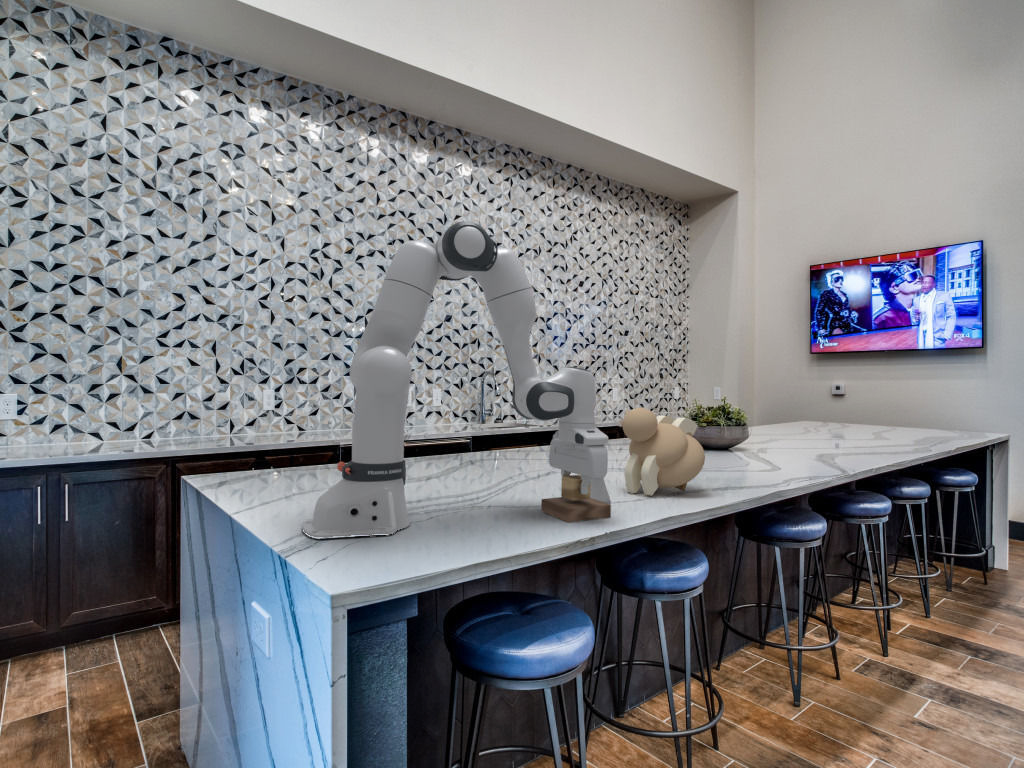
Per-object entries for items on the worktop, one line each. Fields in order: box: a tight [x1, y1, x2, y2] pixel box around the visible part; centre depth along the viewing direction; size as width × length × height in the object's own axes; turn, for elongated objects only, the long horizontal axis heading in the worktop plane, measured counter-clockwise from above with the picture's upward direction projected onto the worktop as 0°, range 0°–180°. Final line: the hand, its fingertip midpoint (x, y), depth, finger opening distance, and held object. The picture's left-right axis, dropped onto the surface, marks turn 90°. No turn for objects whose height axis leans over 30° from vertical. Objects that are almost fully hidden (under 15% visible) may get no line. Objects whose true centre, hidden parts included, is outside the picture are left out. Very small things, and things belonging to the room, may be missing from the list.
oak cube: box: [560, 474, 590, 501], centre depth 140 cm, size 5×5×5 cm
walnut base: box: [541, 496, 612, 523], centre depth 141 cm, size 12×12×3 cm
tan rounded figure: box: [617, 407, 706, 496], centre depth 169 cm, size 30×28×23 cm
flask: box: [590, 477, 612, 504], centre depth 154 cm, size 7×7×10 cm
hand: (575, 491), depth 140 cm, fingers closed on oak cube, 5 cm apart
